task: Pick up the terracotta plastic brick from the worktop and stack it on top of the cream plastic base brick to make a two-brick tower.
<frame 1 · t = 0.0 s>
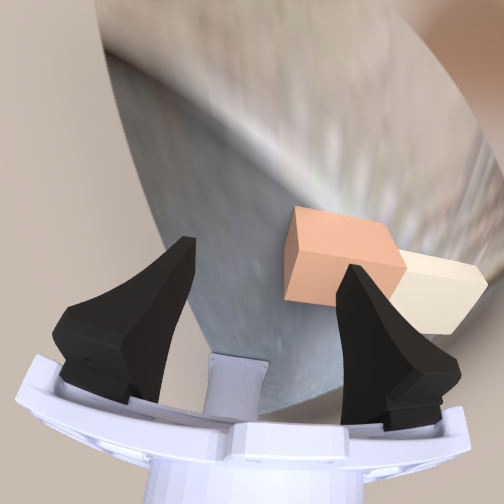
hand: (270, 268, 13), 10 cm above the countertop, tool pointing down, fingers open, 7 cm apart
cream base brick: (422, 284, 27), on the countertop
terracotta brick: (334, 236, 24), on the countertop
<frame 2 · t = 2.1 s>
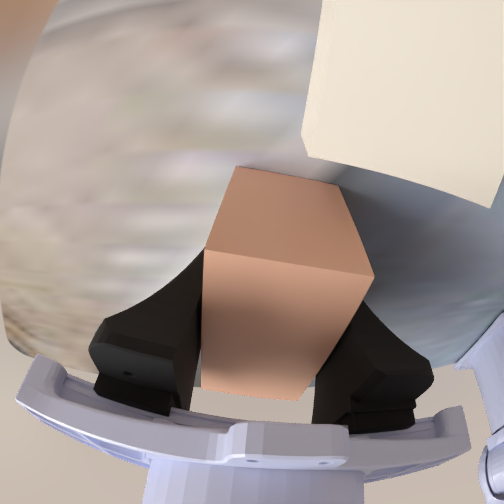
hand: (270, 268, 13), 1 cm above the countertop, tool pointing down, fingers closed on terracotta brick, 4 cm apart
cream base brick: (412, 31, 7), on the countertop
terracotta brick: (271, 249, 14), on the countertop, touching gripper
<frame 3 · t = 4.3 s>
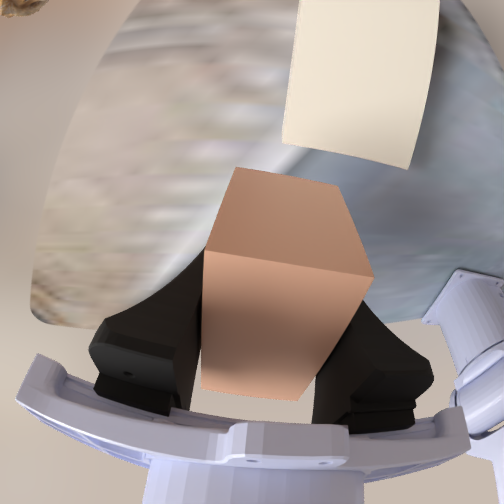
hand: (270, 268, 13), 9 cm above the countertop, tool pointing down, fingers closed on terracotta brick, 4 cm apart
cream base brick: (353, 60, 14), on the countertop
terracotta brick: (271, 249, 14), point 7 cm above the countertop, touching gripper
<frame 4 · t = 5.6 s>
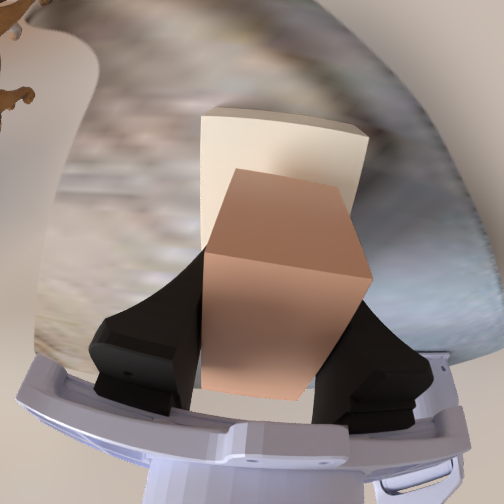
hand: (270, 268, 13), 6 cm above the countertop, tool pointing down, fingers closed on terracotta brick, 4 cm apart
cream base brick: (273, 202, 18), on the countertop
lion figurine: (29, 65, 12), on the countertop
terracotta brick: (271, 250, 14), point 5 cm above the countertop, touching gripper
when the fingers open (6 cm above the countertop, at t = 6.5 s): terracotta brick drops 1 cm, resting on cream base brick.
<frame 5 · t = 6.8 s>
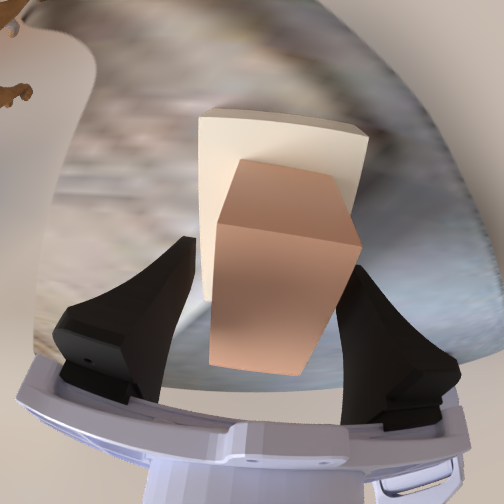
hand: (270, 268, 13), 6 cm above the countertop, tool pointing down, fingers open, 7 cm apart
cream base brick: (273, 203, 18), on the countertop, touching terracotta brick
lion figurine: (27, 61, 12), on the countertop
terracotta brick: (272, 235, 16), point 3 cm above the countertop, touching cream base brick
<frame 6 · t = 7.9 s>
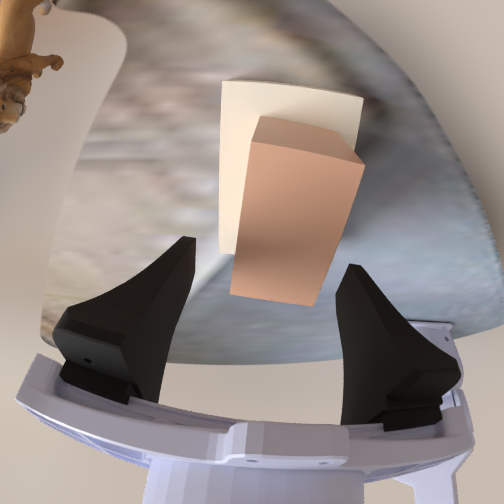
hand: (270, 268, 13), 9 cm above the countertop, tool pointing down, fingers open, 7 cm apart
cream base brick: (282, 163, 20), on the countertop, touching terracotta brick
lion figurine: (58, 36, 13), on the countertop
terracotta brick: (286, 184, 17), point 3 cm above the countertop, touching cream base brick
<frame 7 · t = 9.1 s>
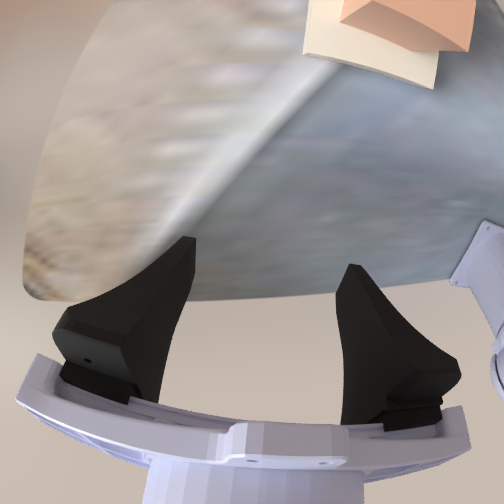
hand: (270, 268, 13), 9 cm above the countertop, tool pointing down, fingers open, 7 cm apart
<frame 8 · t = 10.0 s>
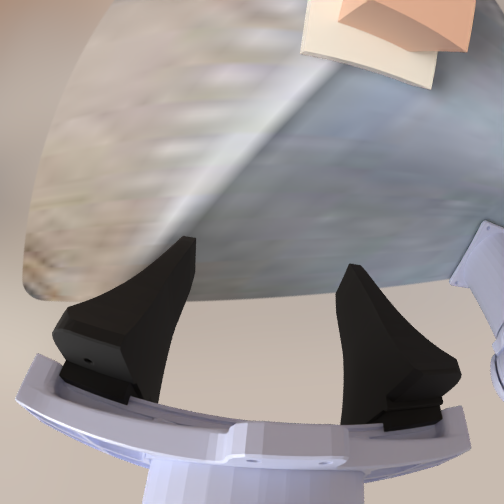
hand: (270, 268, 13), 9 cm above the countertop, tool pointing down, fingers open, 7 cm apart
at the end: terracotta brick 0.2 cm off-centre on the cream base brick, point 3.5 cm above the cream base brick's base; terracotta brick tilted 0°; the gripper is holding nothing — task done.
